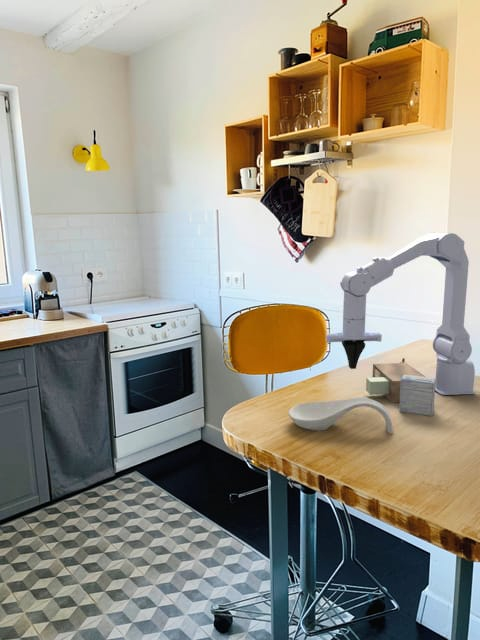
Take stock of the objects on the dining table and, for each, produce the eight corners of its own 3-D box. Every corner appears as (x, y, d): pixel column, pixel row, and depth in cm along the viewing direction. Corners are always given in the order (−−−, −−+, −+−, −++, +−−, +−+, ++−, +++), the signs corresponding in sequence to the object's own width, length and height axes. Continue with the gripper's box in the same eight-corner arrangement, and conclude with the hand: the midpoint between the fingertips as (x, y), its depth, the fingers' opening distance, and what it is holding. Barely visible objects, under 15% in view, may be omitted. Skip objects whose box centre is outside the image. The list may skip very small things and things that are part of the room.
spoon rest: (286, 434, 112) (286, 404, 110) (290, 415, 123) (290, 387, 122) (394, 441, 107) (396, 410, 106) (389, 420, 119) (390, 392, 117)
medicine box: (433, 410, 124) (436, 377, 122) (432, 417, 120) (434, 382, 119) (401, 406, 127) (402, 373, 126) (398, 412, 123) (400, 378, 122)
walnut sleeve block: (405, 381, 146) (406, 363, 145) (428, 400, 131) (430, 379, 130) (372, 382, 146) (373, 363, 145) (391, 402, 130) (392, 381, 129)
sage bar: (398, 389, 136) (398, 376, 136) (403, 393, 133) (403, 380, 132) (365, 390, 136) (366, 377, 135) (370, 394, 132) (370, 381, 132)
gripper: (376, 314, 134) (374, 362, 137) (323, 315, 133) (322, 364, 136) (385, 319, 127) (382, 370, 130) (329, 320, 126) (328, 371, 129)
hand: (352, 367), depth 132 cm, fingers closed
